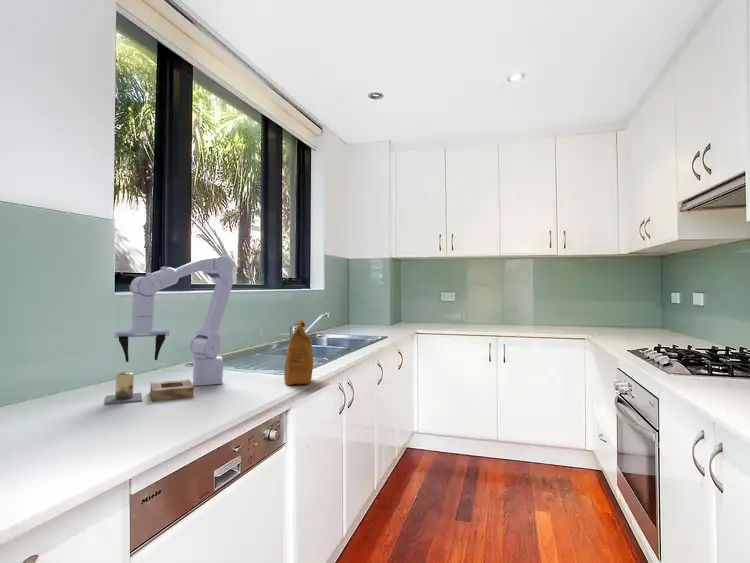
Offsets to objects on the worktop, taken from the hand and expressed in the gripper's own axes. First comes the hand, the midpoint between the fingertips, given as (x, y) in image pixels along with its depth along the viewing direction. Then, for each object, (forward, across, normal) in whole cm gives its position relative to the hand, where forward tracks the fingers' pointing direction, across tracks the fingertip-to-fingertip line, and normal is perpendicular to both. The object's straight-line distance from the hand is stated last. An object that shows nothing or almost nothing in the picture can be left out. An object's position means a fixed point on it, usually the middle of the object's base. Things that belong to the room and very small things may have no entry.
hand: (141, 360), depth 127 cm
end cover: (+10, +4, +4) cm, 12 cm away
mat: (+10, +4, +4) cm, 12 cm away
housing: (+10, -8, +4) cm, 14 cm away
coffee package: (+11, -49, +4) cm, 50 cm away
